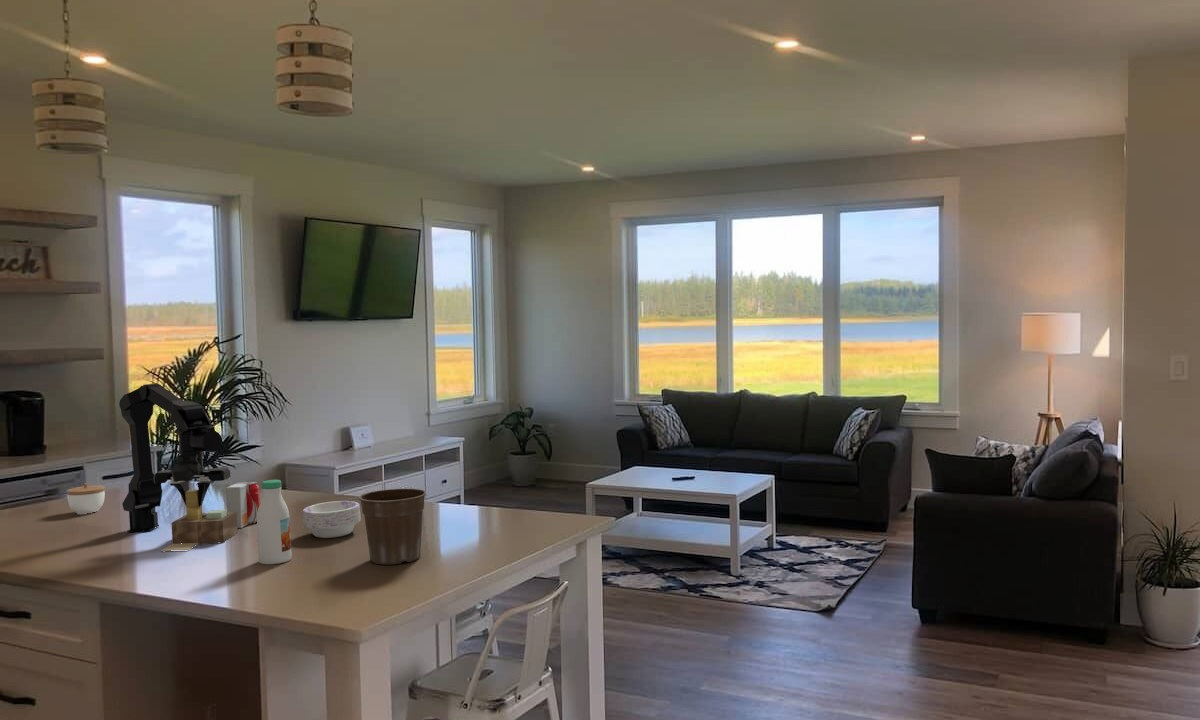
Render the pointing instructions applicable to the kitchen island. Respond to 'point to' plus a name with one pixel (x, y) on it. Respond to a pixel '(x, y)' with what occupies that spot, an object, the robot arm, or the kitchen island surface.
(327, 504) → the paper bowls
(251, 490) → the soda can
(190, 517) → the square wooden peg
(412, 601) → the kitchen island surface
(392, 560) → the plant pot
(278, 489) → the milk bottle
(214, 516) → the on button
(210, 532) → the block
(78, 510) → the lidded jar
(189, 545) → the pad
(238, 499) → the skincare box
